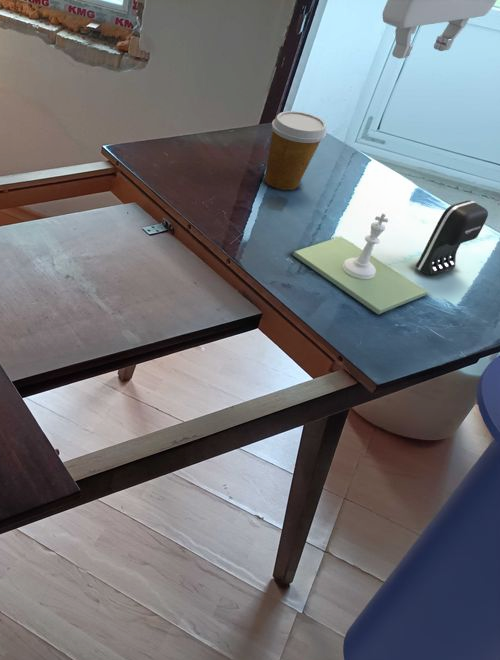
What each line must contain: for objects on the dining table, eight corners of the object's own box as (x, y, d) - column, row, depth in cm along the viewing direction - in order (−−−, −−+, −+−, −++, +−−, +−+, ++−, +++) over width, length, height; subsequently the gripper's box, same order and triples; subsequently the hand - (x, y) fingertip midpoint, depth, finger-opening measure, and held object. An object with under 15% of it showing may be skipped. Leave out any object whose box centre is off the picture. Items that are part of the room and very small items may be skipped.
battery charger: (432, 281, 108) (467, 217, 100) (412, 268, 110) (445, 205, 102) (460, 271, 110) (497, 208, 103) (440, 258, 113) (474, 196, 105)
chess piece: (374, 282, 105) (402, 226, 98) (341, 274, 106) (366, 218, 99) (374, 266, 108) (401, 210, 102) (342, 258, 109) (366, 202, 103)
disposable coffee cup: (284, 167, 135) (304, 107, 127) (317, 190, 128) (340, 128, 120) (245, 174, 131) (263, 113, 124) (277, 197, 125) (298, 135, 117)
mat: (425, 295, 105) (427, 291, 104) (377, 314, 100) (380, 310, 100) (339, 240, 115) (340, 236, 115) (292, 255, 111) (294, 251, 110)
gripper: (437, -45, 84) (391, 69, 93) (532, -54, 93) (481, 52, 102) (395, -57, 88) (355, 54, 97) (489, -64, 96) (444, 39, 106)
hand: (420, 53), depth 100 cm, fingers open, 8 cm apart
